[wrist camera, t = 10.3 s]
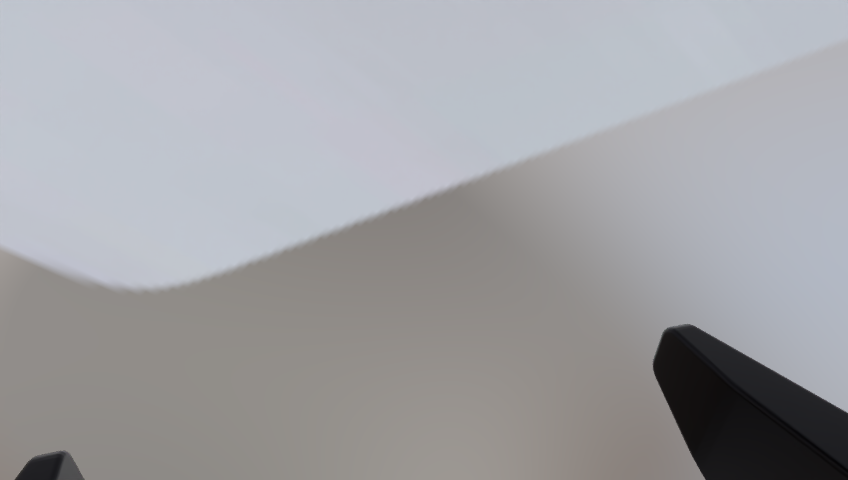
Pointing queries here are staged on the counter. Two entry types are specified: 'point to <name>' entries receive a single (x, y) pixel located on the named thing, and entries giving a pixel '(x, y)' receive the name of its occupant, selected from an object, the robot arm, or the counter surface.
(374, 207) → the counter surface
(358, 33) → the counter surface
